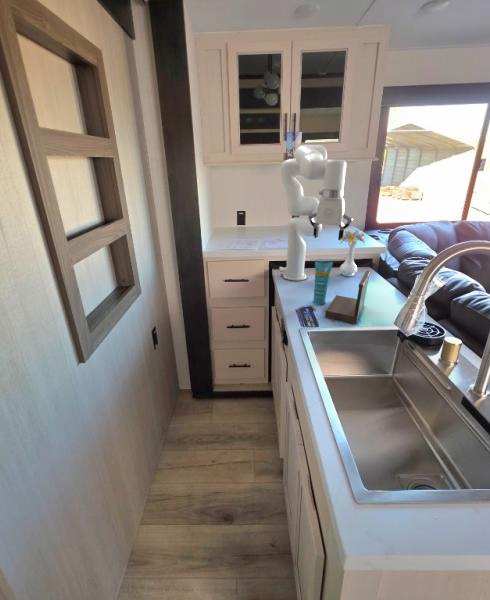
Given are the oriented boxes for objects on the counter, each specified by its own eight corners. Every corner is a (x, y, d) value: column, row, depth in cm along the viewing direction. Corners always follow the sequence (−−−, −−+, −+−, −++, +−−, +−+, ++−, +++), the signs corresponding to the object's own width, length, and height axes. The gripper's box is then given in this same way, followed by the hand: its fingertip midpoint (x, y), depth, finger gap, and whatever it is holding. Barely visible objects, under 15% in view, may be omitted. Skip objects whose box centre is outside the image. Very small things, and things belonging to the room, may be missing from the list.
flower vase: (353, 269, 182) (359, 225, 172) (364, 280, 165) (372, 232, 155) (330, 269, 183) (336, 225, 172) (339, 280, 166) (345, 232, 156)
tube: (310, 303, 138) (314, 261, 130) (311, 299, 142) (315, 258, 135) (327, 305, 136) (332, 263, 128) (328, 301, 140) (333, 260, 133)
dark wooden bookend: (325, 317, 126) (329, 279, 120) (335, 301, 141) (340, 266, 134) (356, 324, 121) (363, 285, 114) (364, 306, 135) (370, 271, 129)
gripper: (307, 194, 122) (304, 238, 129) (354, 196, 115) (347, 242, 121) (313, 193, 128) (309, 234, 135) (357, 194, 121) (351, 238, 127)
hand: (327, 238), depth 128 cm, fingers open, 9 cm apart
